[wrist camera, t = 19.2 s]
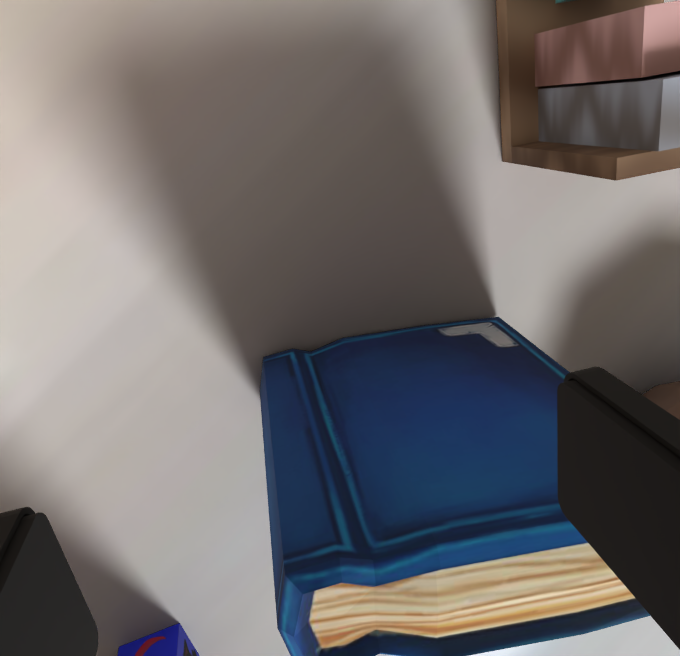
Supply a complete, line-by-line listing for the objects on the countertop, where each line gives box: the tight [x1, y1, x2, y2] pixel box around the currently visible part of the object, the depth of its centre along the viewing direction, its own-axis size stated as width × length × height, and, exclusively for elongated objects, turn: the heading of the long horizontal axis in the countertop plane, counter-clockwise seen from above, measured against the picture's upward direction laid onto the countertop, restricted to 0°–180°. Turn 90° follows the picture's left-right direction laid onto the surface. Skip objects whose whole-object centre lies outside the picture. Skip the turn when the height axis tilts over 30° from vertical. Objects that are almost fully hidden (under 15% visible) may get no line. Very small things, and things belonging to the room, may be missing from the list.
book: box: [260, 317, 651, 656], centre depth 36 cm, size 22×7×25 cm, turn 94°
